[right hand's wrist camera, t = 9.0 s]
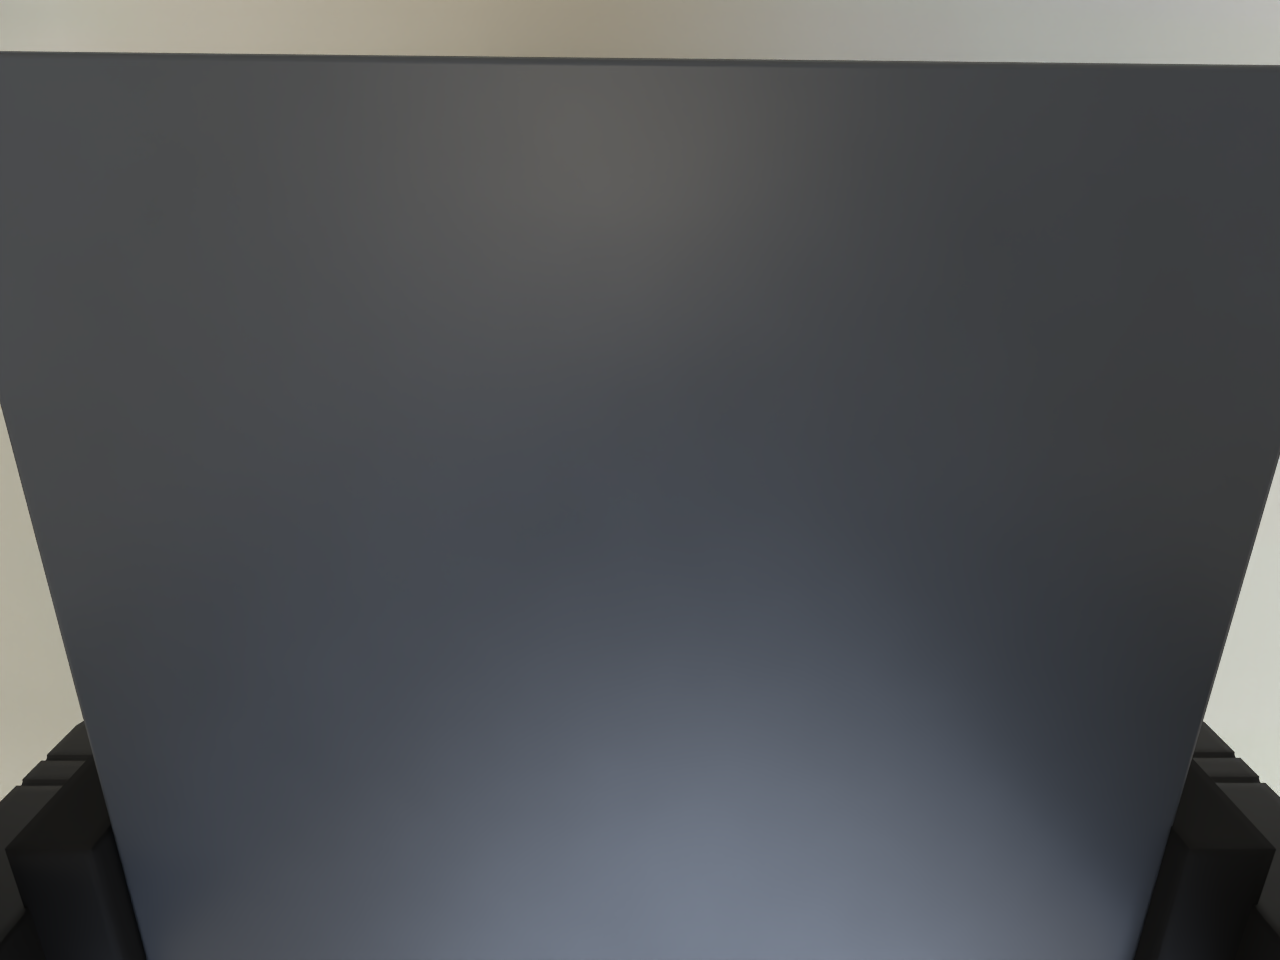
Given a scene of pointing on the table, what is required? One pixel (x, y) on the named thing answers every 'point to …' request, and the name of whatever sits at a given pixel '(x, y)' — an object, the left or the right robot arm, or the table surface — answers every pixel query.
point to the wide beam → (640, 489)
